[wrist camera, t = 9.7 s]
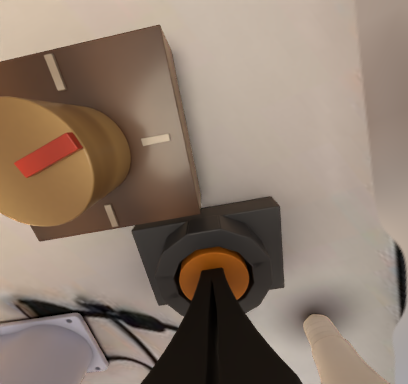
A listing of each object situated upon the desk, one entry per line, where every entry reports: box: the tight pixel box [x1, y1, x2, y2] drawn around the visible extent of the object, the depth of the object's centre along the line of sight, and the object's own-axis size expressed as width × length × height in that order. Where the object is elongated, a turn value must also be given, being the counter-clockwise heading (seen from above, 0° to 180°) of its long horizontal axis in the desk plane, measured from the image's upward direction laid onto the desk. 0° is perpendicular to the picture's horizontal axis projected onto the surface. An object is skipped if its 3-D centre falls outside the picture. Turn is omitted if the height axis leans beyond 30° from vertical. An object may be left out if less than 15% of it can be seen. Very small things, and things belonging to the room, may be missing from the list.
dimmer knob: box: [0, 96, 131, 226], centre depth 8 cm, size 4×4×4 cm
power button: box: [179, 247, 249, 301], centre depth 13 cm, size 4×4×2 cm
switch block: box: [132, 197, 284, 316], centre depth 14 cm, size 10×7×4 cm
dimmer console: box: [0, 25, 201, 241], centre depth 11 cm, size 10×9×3 cm
